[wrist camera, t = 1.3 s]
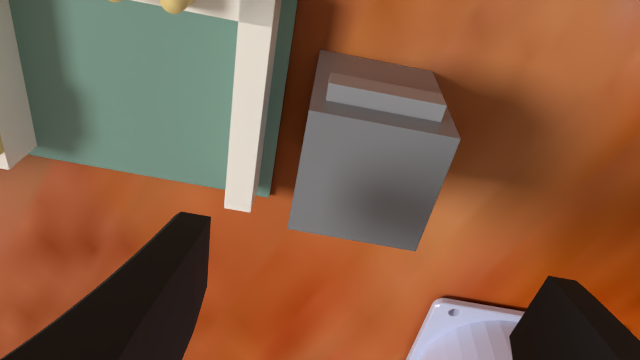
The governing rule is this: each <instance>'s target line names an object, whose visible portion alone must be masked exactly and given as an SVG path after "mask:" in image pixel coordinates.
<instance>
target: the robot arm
mask: <svg viewBox="0 0 640 360" xmlns="http://www.w3.org/2000/svg"><path fill="white" fill-rule="evenodd" d="M210 223H211V217H209V216H203V215H197V214H191V213H186V212H180V213H178V214H177V215H175V216H174V217H173V218H172V219H171V220H170V221H169V222H168V223H167V224H166V225H165V226H164V227H163V228H162V229H161V230H160V231H159V232H158V233H157V234H156V235H155V236H154V237H153V238H152V239H151V240H150V241H149V242H148V243H147V244H146V245H144V246H143V247H142V248H141V249H140V250H139V251H138V252H137V253H136V254H135V255H134V256H133V257H131V258H130V259H129V260H128V261H127V262H126V263H125V264H123V265H122V266H121V267H120V268H119V269H118V270H117V271H115V272H114V273H113V274H112V275H111V276H110V277H109V278H107V279H106V280H105V281H104V282H103V283H102V284H100V285H99V286H98V287H97V288H96V289H94V290H93V291H92V292H91V293H89V294H88V295H87V296H86V297H84V298H83V299H82V300H80V301H79V302H78V303H77V304H75V305H74V306H73V307H72V308H70V309H69V310H68V311H67V312H65V313H64V314H63V315H62V316H60V317H59V318H58V319H56V320H55V321H54V322H52V323H51V324H50V325H48V326H47V327H46V328H44V329H43V330H42V331H40V332H39V333H37V334H36V335H35V336H33V337H32V338H30V339H29V340H28V341H26V342H25V343H23V344H22V345H20V346H19V347H18V348H16V349H15V350H13V351H12V352H10V353H9V354H7V355H6V356H4V357H3V358H2V359H0V360H182V358H183V356H184V353H185V351H186V349H187V346H188V344H189V341H190V339H191V336H192V334H193V331H194V328H195V325H196V322H197V318H198V315H199V312H200V308H201V305H202V301H203V298H204V294H205V291H206V288H207V277H208V259H209V241H210ZM451 309H454V310H451ZM406 360H640V341H639V340H638V339H637V338H636V337H635V336H634V335H633V334H632V333H631V332H630V331H629V330H628V329H627V328H626V327H625V326H624V325H623V324H622V323H621V322H620V321H619V320H618V319H617V318H616V317H615V316H614V315H613V314H612V313H611V312H610V311H609V310H608V309H606V308H605V307H604V306H603V305H602V304H601V303H600V302H599V301H598V300H597V299H596V298H595V297H594V296H593V295H592V294H591V293H590V292H588V291H587V290H586V289H585V288H584V287H583V286H582V285H580V284H579V283H578V282H577V281H575V280H569V279H564V278H558V277H552V276H548V277H547V279H546V280H545V282H544V284H543V285H542V287H541V288H540V290H539V291H538V293H537V294H536V296H535V297H534V299H533V300H532V302H531V303H530V305H529V306H528V308H527V310H526V311H525V312H523V311H517V310H512V309H506V308H500V307H494V306H488V305H482V304H477V303H471V302H465V301H459V300H453V299H447V298H440V299H437V300H435V301H434V302H433V303H432V305H431V308H430V310H429V312H428V314H427V316H426V318H425V320H424V322H423V325H422V327H421V329H420V331H419V333H418V335H417V337H416V339H415V342H414V344H413V346H412V348H411V350H410V352H409V354H408V356H407V358H406Z"/></svg>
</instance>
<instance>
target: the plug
mask: <svg viewBox="0 0 640 360" xmlns="http://www.w3.org/2000/svg"><path fill="white" fill-rule="evenodd" d="M460 140H461V138H460V136H459V133H458V131H457V128H456V126H455V124H454V121H453V119H452V117H451V114H450V112H449V109H448V107H447V105H446V102H445V100H444V98H443V95H442V93H441V90H440V88H439V86H438V83H437V81H436V79H435V76H434V74H433V71H428V70H423V69H418V68H413V67H408V66H402V65H397V64H392V63H387V62H382V61H377V60H372V59H367V58H362V57H357V56H352V55H347V54H341V53H336V52H331V51H326V50H321V49H320V53H319V58H318V64H317V69H316V74H315V80H314V85H313V91H312V96H311V101H310V107H309V112H308V118H307V123H306V129H305V134H304V140H303V145H302V151H301V156H300V162H299V168H298V173H297V179H296V184H295V190H294V195H293V201H292V206H291V212H290V217H289V223H288V228H287V229H291V230H297V231H303V232H308V233H314V234H320V235H325V236H331V237H337V238H342V239H348V240H354V241H359V242H365V243H371V244H377V245H382V246H388V247H394V248H399V249H405V250H411V251H416V249H417V247H418V244H419V242H420V239H421V237H422V234H423V232H424V229H425V227H426V224H427V222H428V219H429V217H430V215H431V212H432V210H433V207H434V205H435V202H436V200H437V197H438V195H439V192H440V190H441V187H442V185H443V182H444V180H445V177H446V175H447V172H448V170H449V167H450V165H451V162H452V160H453V157H454V155H455V152H456V150H457V147H458V145H459V142H460Z"/></svg>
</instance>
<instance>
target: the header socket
mask: <svg viewBox="0 0 640 360" xmlns="http://www.w3.org/2000/svg"><path fill="white" fill-rule="evenodd" d="M297 2H298V0H0V168H1V169H7V170H9V169H11V168H12V167H13V166H14V165H15V164H17V163H18V162H19V161H20V160H21V159H22V158H24V157H25V156H26V155H27V154H28V155H34V156H39V157H45V158H50V159H56V160H62V161H67V162H73V163H78V164H84V165H89V166H95V167H101V168H106V169H112V170H117V171H123V172H129V173H134V174H140V175H145V176H151V177H156V178H162V179H168V180H173V181H179V182H184V183H190V184H196V185H201V186H207V187H212V188H218V189H223V190H225V202H224V208H227V209H233V210H239V211H244V212H251V208H252V205H253V202H254V199H255V195H257V196H263V197H268V198H269V196H270V189H271V182H272V175H273V169H274V162H275V155H276V148H277V141H278V134H279V127H280V120H281V113H282V106H283V99H284V92H285V85H286V78H287V72H288V65H289V58H290V51H291V44H292V37H293V30H294V23H295V16H296V9H297Z"/></svg>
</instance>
